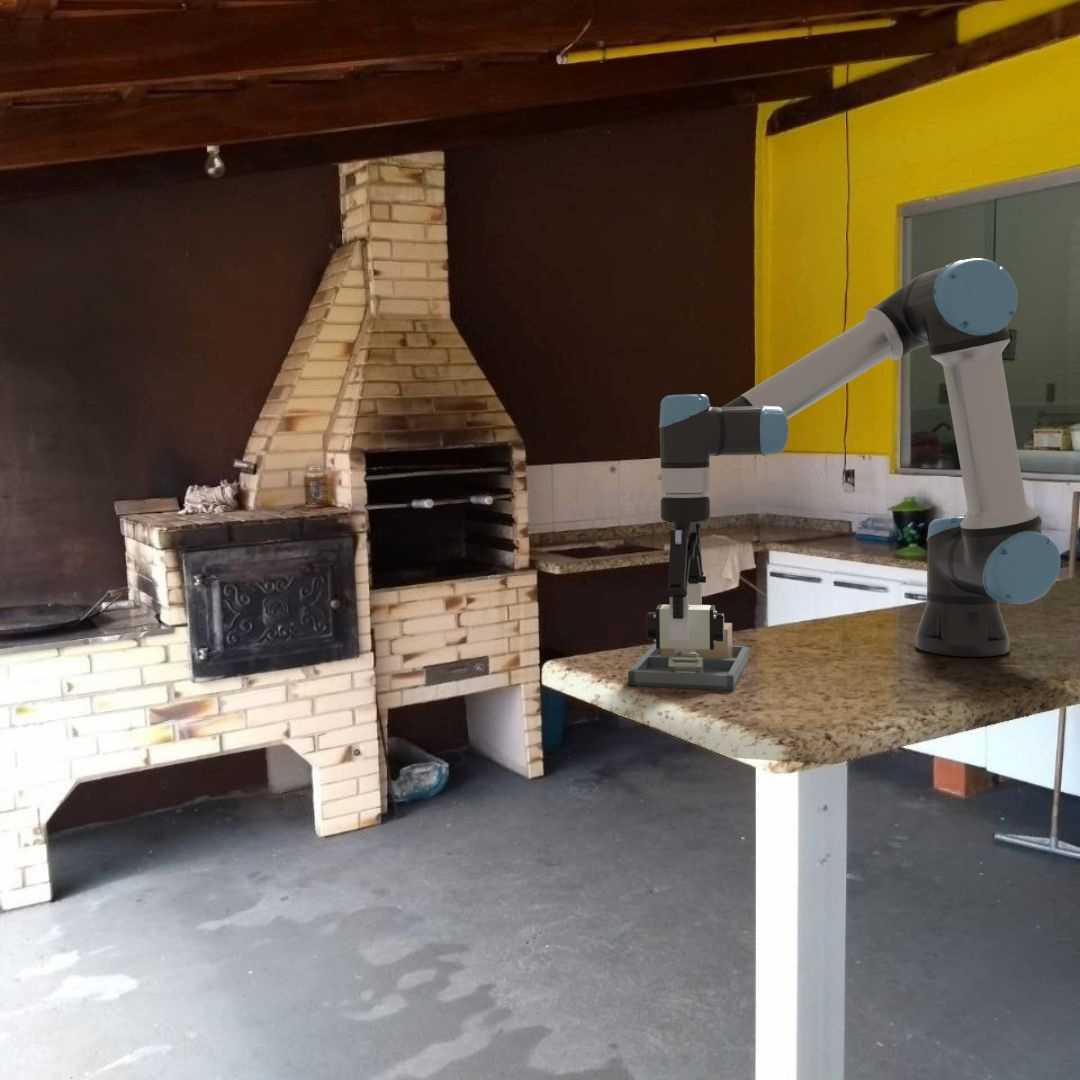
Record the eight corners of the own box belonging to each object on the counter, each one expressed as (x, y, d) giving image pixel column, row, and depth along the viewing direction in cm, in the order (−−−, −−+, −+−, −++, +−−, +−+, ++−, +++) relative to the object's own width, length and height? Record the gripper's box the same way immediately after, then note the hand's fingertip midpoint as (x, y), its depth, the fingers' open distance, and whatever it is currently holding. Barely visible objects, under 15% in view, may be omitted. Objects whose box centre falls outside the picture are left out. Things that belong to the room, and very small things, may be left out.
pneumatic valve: (723, 680, 161) (723, 602, 160) (647, 678, 163) (646, 601, 162) (724, 672, 166) (724, 597, 165) (650, 670, 169) (650, 596, 167)
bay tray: (749, 658, 179) (749, 620, 178) (733, 690, 157) (733, 647, 156) (656, 654, 183) (655, 617, 183) (628, 685, 161) (627, 643, 161)
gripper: (674, 491, 175) (676, 616, 177) (645, 500, 151) (647, 645, 153) (719, 490, 173) (720, 618, 175) (697, 500, 149) (698, 647, 151)
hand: (686, 631), depth 164 cm, fingers open, 13 cm apart
